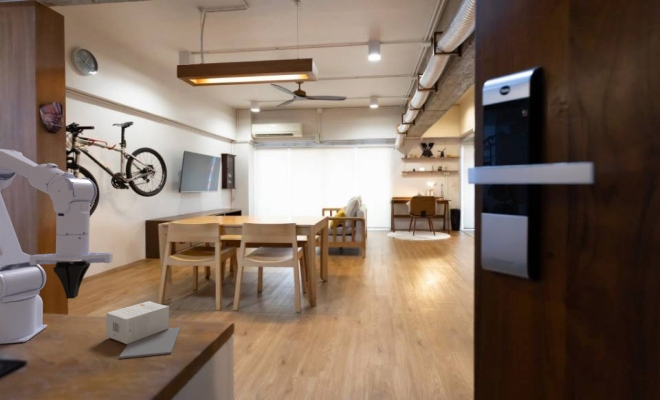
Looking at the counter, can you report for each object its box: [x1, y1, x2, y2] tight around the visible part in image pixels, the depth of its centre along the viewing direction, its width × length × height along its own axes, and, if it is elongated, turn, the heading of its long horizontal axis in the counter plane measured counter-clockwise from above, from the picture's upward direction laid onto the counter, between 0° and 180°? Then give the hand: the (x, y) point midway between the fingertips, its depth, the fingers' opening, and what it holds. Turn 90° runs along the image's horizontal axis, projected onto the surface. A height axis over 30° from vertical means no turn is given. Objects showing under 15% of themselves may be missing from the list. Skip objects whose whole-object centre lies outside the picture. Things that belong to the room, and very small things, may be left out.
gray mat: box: [118, 326, 181, 360], centre depth 77 cm, size 14×10×1 cm
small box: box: [105, 300, 170, 345], centre depth 81 cm, size 8×6×10 cm
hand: (72, 297), depth 74 cm, fingers closed
